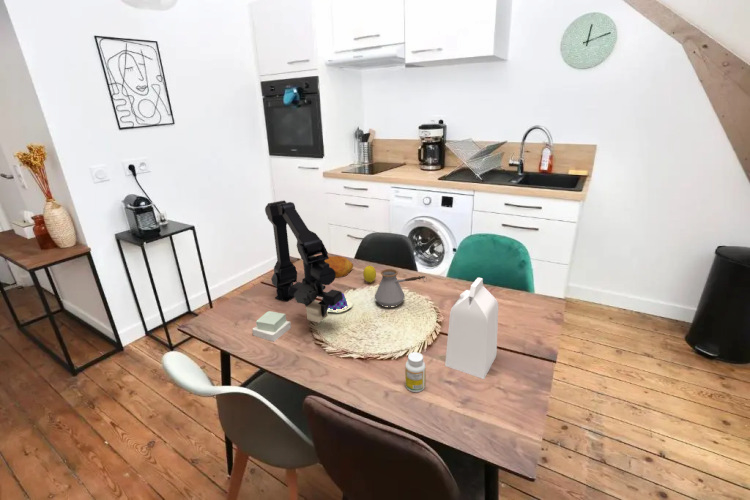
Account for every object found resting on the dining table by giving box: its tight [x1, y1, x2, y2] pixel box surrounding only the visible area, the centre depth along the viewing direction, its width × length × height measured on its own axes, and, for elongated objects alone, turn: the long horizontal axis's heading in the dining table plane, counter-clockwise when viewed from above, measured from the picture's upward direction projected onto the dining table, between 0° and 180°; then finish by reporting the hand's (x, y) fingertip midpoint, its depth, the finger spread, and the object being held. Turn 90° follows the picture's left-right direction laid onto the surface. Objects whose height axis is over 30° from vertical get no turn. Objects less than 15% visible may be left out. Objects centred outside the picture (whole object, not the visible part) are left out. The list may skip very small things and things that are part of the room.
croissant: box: [325, 255, 354, 279], centre depth 174 cm, size 14×16×8 cm
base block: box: [251, 320, 292, 342], centre depth 131 cm, size 9×9×3 cm
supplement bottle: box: [404, 351, 427, 393], centre depth 103 cm, size 5×5×10 cm
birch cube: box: [305, 299, 328, 323], centre depth 132 cm, size 5×5×5 cm
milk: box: [444, 277, 499, 380], centre depth 109 cm, size 12×12×26 cm
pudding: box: [328, 292, 348, 310], centre depth 145 cm, size 12×12×5 cm
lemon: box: [362, 265, 377, 283], centre depth 163 cm, size 6×6×8 cm
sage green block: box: [255, 310, 288, 332], centre depth 130 cm, size 7×7×3 cm
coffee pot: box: [374, 268, 428, 308], centre depth 142 cm, size 21×12×15 cm, turn 54°
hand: (317, 314), depth 133 cm, fingers closed on birch cube, 5 cm apart
